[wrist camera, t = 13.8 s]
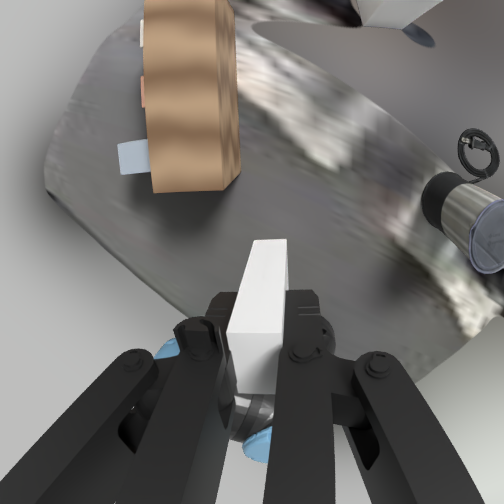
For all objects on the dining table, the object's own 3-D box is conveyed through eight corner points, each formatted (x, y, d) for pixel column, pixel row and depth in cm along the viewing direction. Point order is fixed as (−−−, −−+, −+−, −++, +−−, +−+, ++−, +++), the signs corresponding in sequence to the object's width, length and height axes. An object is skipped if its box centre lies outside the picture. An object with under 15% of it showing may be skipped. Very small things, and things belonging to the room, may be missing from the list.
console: (241, 171, 39) (223, 190, 29) (186, 174, 40) (153, 193, 30) (234, 11, 29) (214, -21, 19) (179, 20, 30) (144, -5, 20)
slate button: (196, 163, 35) (185, 168, 32) (135, 168, 36) (121, 174, 33) (194, 132, 34) (183, 134, 30) (132, 140, 35) (117, 144, 31)
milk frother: (420, 231, 39) (465, 281, 26) (413, 128, 33) (470, 137, 19) (487, 221, 36) (538, 261, 23) (486, 128, 30) (548, 141, 17)
